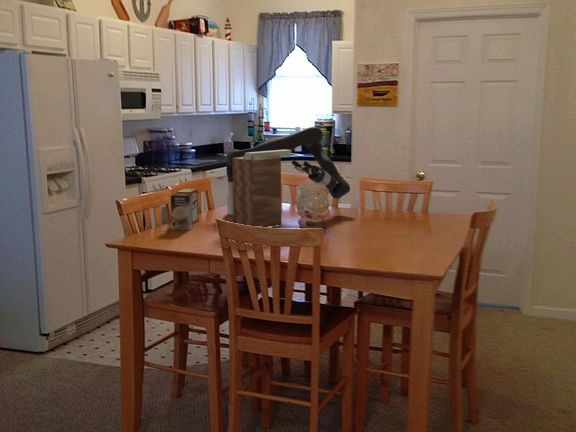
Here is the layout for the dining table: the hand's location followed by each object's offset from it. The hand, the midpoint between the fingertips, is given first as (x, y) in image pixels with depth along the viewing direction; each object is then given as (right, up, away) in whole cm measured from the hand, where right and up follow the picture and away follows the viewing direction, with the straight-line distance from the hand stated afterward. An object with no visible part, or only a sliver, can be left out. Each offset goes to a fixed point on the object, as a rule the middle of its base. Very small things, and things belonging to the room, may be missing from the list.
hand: (298, 162), depth 308 cm
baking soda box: (-53, -29, +3) cm, 61 cm away
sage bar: (-14, +1, -12) cm, 18 cm away
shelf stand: (-19, -30, -6) cm, 36 cm away
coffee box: (-54, -32, -11) cm, 64 cm away
